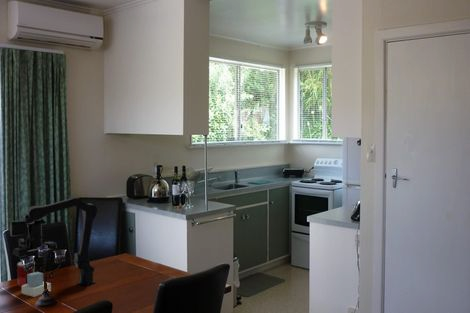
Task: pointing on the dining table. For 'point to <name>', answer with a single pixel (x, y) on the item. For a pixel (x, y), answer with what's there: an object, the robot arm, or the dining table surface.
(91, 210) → the robot arm
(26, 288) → the base box
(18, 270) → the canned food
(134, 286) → the dining table surface
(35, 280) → the block
